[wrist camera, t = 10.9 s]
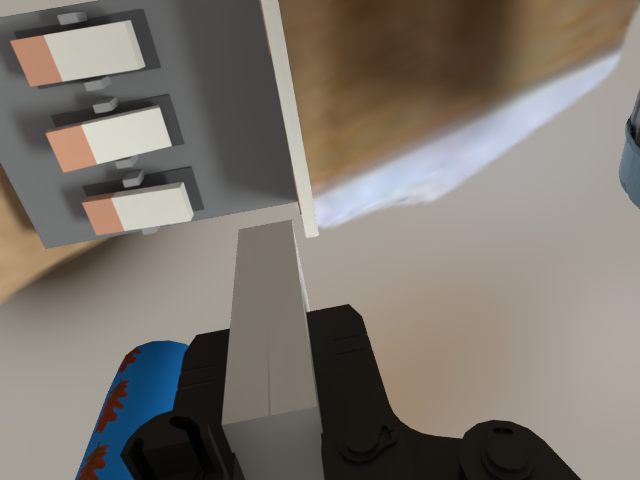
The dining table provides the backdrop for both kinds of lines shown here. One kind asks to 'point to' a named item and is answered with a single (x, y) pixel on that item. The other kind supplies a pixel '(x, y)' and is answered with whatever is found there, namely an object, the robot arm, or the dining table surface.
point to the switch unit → (176, 107)
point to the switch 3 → (138, 208)
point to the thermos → (132, 406)
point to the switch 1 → (79, 53)
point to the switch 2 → (109, 138)
